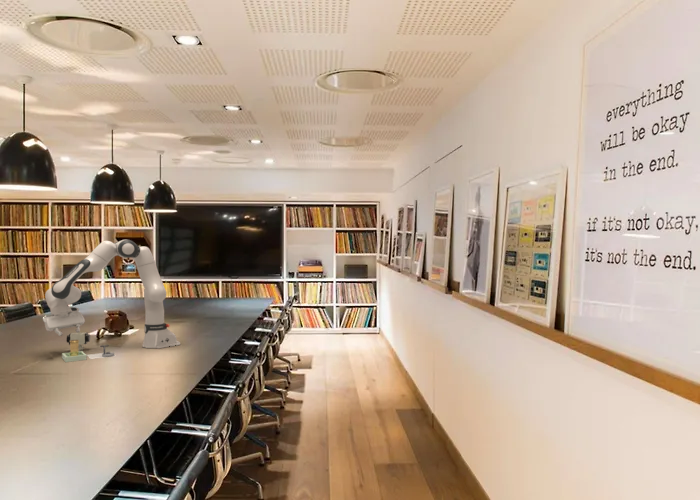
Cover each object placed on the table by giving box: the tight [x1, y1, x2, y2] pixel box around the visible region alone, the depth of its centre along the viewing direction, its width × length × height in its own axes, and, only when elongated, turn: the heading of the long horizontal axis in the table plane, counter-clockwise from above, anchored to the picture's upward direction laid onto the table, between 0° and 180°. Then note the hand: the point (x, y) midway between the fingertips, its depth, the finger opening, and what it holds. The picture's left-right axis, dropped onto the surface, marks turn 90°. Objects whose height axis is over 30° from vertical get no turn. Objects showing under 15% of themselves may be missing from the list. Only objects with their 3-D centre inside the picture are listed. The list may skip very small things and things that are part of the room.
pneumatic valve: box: [66, 331, 91, 351], centre depth 289 cm, size 6×12×12 cm, turn 107°
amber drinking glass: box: [69, 340, 80, 357], centre depth 267 cm, size 4×4×10 cm
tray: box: [61, 350, 88, 363], centre depth 267 cm, size 10×12×4 cm
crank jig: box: [86, 344, 117, 360], centre depth 276 cm, size 13×12×7 cm
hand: (69, 333), depth 274 cm, fingers open, 8 cm apart
